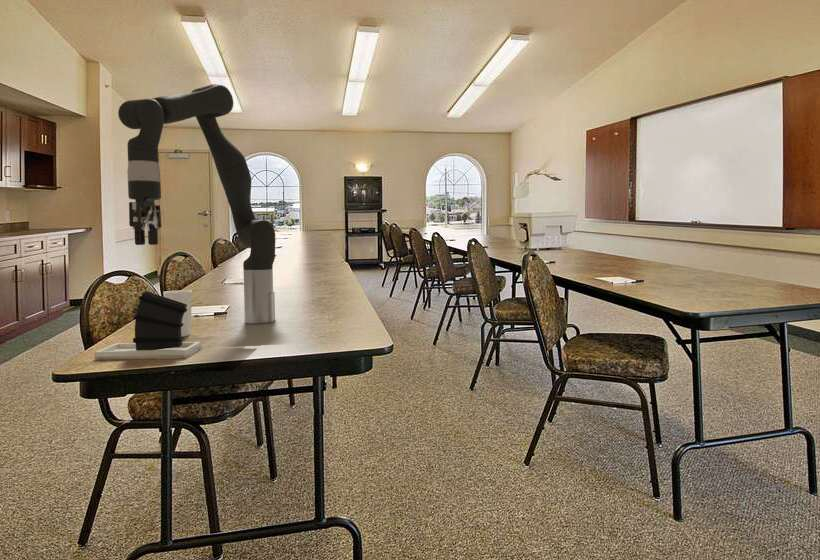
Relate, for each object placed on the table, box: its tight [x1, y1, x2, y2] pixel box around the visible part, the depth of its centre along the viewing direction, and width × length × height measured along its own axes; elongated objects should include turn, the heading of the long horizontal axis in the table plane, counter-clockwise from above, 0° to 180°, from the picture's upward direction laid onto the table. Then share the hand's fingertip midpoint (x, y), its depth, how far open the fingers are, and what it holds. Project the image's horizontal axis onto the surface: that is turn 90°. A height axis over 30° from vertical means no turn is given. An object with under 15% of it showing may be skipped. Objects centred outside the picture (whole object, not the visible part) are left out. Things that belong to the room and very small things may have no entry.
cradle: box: [94, 341, 202, 361], centre depth 147 cm, size 22×12×2 cm, turn 94°
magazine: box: [132, 290, 187, 350], centre depth 147 cm, size 4×13×15 cm, turn 98°
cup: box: [162, 289, 193, 337], centre depth 169 cm, size 8×8×14 cm
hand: (146, 244), depth 145 cm, fingers open, 8 cm apart
